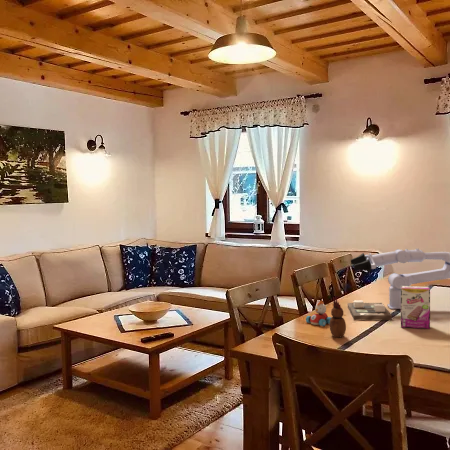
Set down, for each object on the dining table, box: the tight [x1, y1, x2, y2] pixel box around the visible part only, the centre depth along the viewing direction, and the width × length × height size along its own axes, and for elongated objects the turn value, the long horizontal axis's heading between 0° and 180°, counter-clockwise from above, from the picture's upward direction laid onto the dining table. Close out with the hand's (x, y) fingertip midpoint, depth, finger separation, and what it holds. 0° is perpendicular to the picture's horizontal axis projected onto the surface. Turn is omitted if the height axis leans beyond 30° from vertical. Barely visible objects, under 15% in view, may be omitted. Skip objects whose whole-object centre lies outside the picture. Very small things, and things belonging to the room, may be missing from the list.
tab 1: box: [353, 299, 365, 308], centre depth 226 cm, size 4×4×2 cm
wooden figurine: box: [329, 297, 347, 338], centre depth 189 cm, size 7×6×15 cm
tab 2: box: [374, 303, 386, 312], centre depth 217 cm, size 4×4×2 cm
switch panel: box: [347, 302, 393, 321], centre depth 222 cm, size 16×24×2 cm, turn 172°
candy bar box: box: [400, 285, 431, 330], centre depth 197 cm, size 11×5×16 cm, turn 71°
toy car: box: [305, 300, 332, 327], centre depth 208 cm, size 9×9×10 cm
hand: (352, 264), depth 232 cm, fingers open, 7 cm apart
